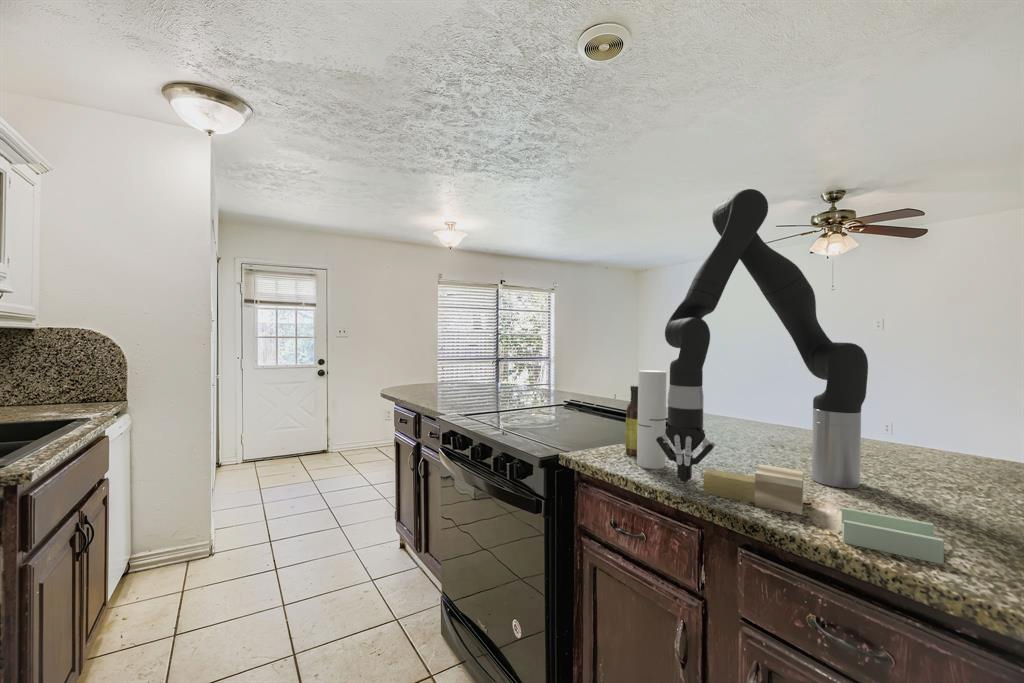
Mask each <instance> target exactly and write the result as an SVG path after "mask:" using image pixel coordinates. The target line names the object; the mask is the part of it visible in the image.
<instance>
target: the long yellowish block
mask: <svg viewBox="0 0 1024 683" xmlns="http://www.w3.org/2000/svg"><path fill="white" fill-rule="evenodd" d="M702 492H703V493H704V494H708V495H713V496H717V497H724V498H728V499H731V500H732V499H733V500H737V501H743V502H748V503H751V502H752V504H755V476H752V475H748V474H747V475H746V474H741V473H736V472H730V471H724V470H718V469H712V468H708V469H707V470H706V471H705V472H703V490H702ZM803 508H804V493H803V494H802V509H803Z"/></svg>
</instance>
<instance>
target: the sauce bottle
mask: <svg viewBox="0 0 1024 683" xmlns="http://www.w3.org/2000/svg"><path fill="white" fill-rule="evenodd" d="M625 414H626V417H625V440H624V441H625V443H624V444H625V445H624V446H625V453H626V454H627V455H629V456H634V457H637V431H638V385H630V401H629V404H628V405H627V407H626V412H625Z"/></svg>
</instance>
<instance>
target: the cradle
mask: <svg viewBox="0 0 1024 683" xmlns="http://www.w3.org/2000/svg"><path fill="white" fill-rule="evenodd" d="M840 526H841V534H842V539H843V543H844V544H847V545H852V546H858V547H861V548H867V549H871V550H875V551H881V552H885V553H889V554H893V555H898V556H903V557H907V558H911V559H917V560H922V561H926V562H931V563H934V564H940V565H944V562H945V560H944V559H945V556H944V555H945V541H944V539H943V538H939V537H935V536H934V530H935V526H934V524H933V523H932V522H927V521H921V520H916V519H911V518H910V519H909V518H904V517H899V516H895V515H894V516H893V515H887V514H883V513H877V512H872V511H866V510H860V509H855V508H849V507H844V506H842V507H841V525H840Z"/></svg>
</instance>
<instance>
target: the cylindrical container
mask: <svg viewBox="0 0 1024 683" xmlns="http://www.w3.org/2000/svg"><path fill="white" fill-rule="evenodd" d="M637 372H638V375H637V376H638V378H637V380H638V381H637V386H638V431H637V456H636V465H637V466H639V467H641V468H644V469H649V470H650V469H652V470H658V469H659V470H661V469H664V468H665V467H666V454H665V453H664V451H663V450H662V448H661V447H660V445H659V444H658V443H657V441H656V439H657V438H658V437H659V436H662V435H664V434H665V431H666V429H667V427H666V424H667V419H666V417H667V376H668V374H667V371H665V370H655V369H654V370H652V369H643V370H640V369H639V370H638V371H637Z"/></svg>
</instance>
